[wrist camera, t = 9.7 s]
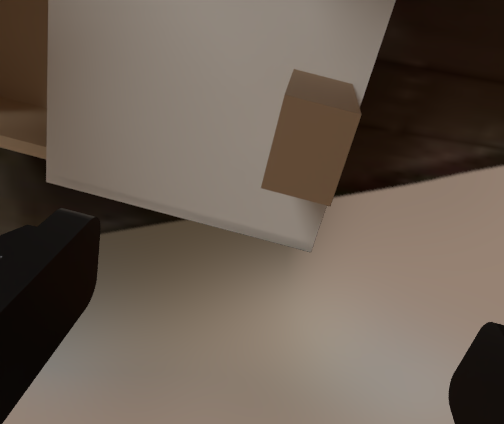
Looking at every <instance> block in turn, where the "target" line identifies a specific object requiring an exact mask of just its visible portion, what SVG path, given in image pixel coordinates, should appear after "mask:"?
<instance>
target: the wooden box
mask: <svg viewBox="0 0 504 424" xmlns="http://www.w3.org/2000/svg"><path fill="white" fill-rule="evenodd" d="M47 66H48V0H0V147H1V148H5V149H9V150H13V151H16V152H20V153H24V154H28V155H31V156H35V157H39V158H43V159H46V145H47Z"/></svg>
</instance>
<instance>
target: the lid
mask: <svg viewBox="0 0 504 424" xmlns="http://www.w3.org/2000/svg"><path fill="white" fill-rule="evenodd" d="M395 1H396V0H48V66H47V145H46V182H48V183H52V184H56V185H59V186H63V187H67V188H71V189H74V190H78V191H82V192H86V193H90V194H93V195H97V196H101V197H105V198H108V199H112V200H116V201H120V202H123V203H127V204H131V205H135V206H138V207H142V208H146V209H150V210H153V211H157V212H161V213H165V214H168V215H172V216H176V217H180V218H183V219H187V220H191V221H195V222H198V223H202V224H206V225H210V226H214V227H217V228H221V229H225V230H229V231H232V232H236V233H240V234H243V235H247V236H251V237H255V238H258V239H262V240H266V241H270V242H273V243H277V244H281V245H285V246H288V247H292V248H296V249H300V250H303V251H307V252H311V251H312V248H313V245H314V242H315V239H316V236H317V233H318V230H319V227H320V224H321V221H322V218H323V215H324V212H325V209H326V206H331V203H332V200H333V197H334V194H335V191H336V188H337V185H338V182H339V179H340V176H341V173H342V171H343V168H344V165H345V162H346V159H347V156H348V153H349V150H350V147H351V144H352V141H353V138H354V135H355V132H356V129H357V126H358V124H359V121H360V118H361V115H362V114H361V111H360V105H361V102H362V99H363V96H364V93H365V90H366V87H367V84H368V82H369V79H370V76H371V73H372V70H373V67H374V64H375V61H376V58H377V55H378V52H379V49H380V46H381V43H382V40H383V37H384V34H385V31H386V28H387V25H388V22H389V19H390V16H391V13H392V10H393V7H394V4H395Z"/></svg>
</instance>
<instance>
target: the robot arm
mask: <svg viewBox="0 0 504 424" xmlns="http://www.w3.org/2000/svg"><path fill="white" fill-rule="evenodd" d="M99 241H100V220H99V219H98V218H97V217H94V216H90V215H86V214H83V213H79V212H75V211H71V210H67V209H64V208H60V209H58V210H57V211H55V212H54V213H53V214H52V215H51V216H49V217H48V218H47V219H46V220H45V221H44V222H42V223H41V224H40V225H39V226H38V227H35V226H31V225H26V226H23V227H21V228H18V229H15V230H13V231H10V232H8V233H5V234H2V235H1V236H0V424H2V423H3V422H4V420H5V419H6V418H7V416H8V415H9V413H10V412H11V411H12V409H13V408H14V407H15V405H16V404H17V402H18V401H19V400H20V398H21V397H22V396H23V394H24V393H25V391H26V390H27V389H28V387H29V386H30V385H31V383H32V382H33V380H34V379H35V378H36V376H37V375H38V374H39V372H40V371H41V369H42V368H43V367H44V365H45V364H46V363H47V361H48V359H49V358H50V357H51V356H52V354H53V353H54V351H55V350H56V349H57V347H58V346H59V345H60V343H61V342H62V340H63V339H64V337H65V336H66V335H67V334H68V332H69V331H70V329H71V328H72V327H73V325H74V324H75V322H76V321H77V320H78V318H79V317H80V316H81V314H82V313H83V312H84V310H85V309H86V307H87V306H88V304H89V302H90V300H91V297H92V295H93V292H94V289H95V285H96V280H97V269H98V255H99ZM449 405H450V409H451V412H452V415H453V419H454V422H455V424H504V325H501V324H497V323H493V322H488V323H486V324H485V325H483V327H482V328H481V329H480V331H479V332H478V334H477V336H476V337H475V339H474V341H473V342H472V344H471V346H470V348H469V349H468V351H467V352H466V354H465V356H464V357H463V359H462V361H461V363H460V364H459V366H458V367H457V369H456V371H455V373H454V374H453V376H452V379H451V382H450V387H449Z"/></svg>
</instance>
